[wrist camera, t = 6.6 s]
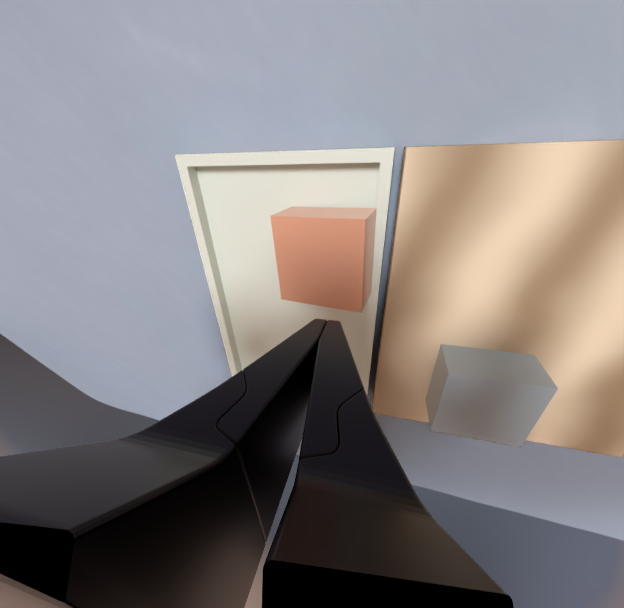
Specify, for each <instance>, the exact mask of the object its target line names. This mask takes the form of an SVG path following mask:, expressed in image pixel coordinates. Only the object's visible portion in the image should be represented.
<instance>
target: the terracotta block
mask: <svg viewBox="0 0 624 608" xmlns="http://www.w3.org/2000/svg"><path fill="white" fill-rule="evenodd" d="M376 212H377V208H343V207H298V206H292V207H289V208H287V209H285V210H283V211H280V212H278V213H276V214H273V215H271V216H270V217H271V225H272V232H273V240H274V247H275V255H276V263H277V270H278V278H279V285H280V293H281V299H282V300H288V301H294V302H300V303H306V304H312V305H318V306H324V307H330V308H336V309H342V310H347V311H353V312H359V313H362V311H363V309H364V306H365V304H366V302H367V300H368V298H369V296H370V294H371V289H372V274H373V258H374V243H375V227H376Z"/></svg>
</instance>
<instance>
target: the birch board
mask: <svg viewBox="0 0 624 608" xmlns="http://www.w3.org/2000/svg"><path fill="white" fill-rule="evenodd" d="M441 344H445V345H454V346H462V347H471V348H479V349H488V350H496V351H505V352H513V353H522V354H530V355H535V356H536V357H537V359H538V360H539V362H540V363H541V365H542V366H543V368H544V369H545V370H546V372H547V373H548V375H549V376H550V378H551V379H552V380H553V382H554V383H555V385H556V386H557V388H558V390H557V391H556V393H555V394H554V396H553V398H552V399H551V401H550V402H549V404H548V405H547V407H546V409H545V410H544V412H543V413H542V415H541V416H540V418H539V420H538V421H537V423H536V424H535V426H534V427H533V429H532V431H531V432H530V434H529V435H528V437H527V438H526V440H527V441H532V442H538V443H544V444H549V445H555V446H560V447H566V448H572V449H577V450H583V451H588V452H594V453H599V454H605V455H611V456H616V457H622V456H623V455H624V140H596V141H566V142H536V143H506V144H476V145H446V146H416V147H404V153H403V161H402V169H401V177H400V185H399V193H398V201H397V209H396V217H395V225H394V233H393V241H392V249H391V256H390V264H389V272H388V280H387V288H386V296H385V304H384V312H383V320H382V328H381V336H380V344H379V352H378V360H377V368H376V375H375V383H374V391H373V408H372V409H373V412H374V413H376V414H382V415H387V416H393V417H398V418H404V419H409V420H415V421H421V422H426V423H429V419H428V412H427V406H426V395H427V392H428V388H429V385H430V381H431V377H432V374H433V370H434V367H435V363H436V359H437V356H438V352H439V349H440V345H441Z"/></svg>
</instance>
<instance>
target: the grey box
mask: <svg viewBox="0 0 624 608" xmlns="http://www.w3.org/2000/svg"><path fill="white" fill-rule="evenodd" d="M557 390H558V388H557V386H556V385H555V383H554V382H553V380H552V379H551V378H550V376H549V375H548V373H547V372H546V370H545V369H544V368H543V366H542V365H541V363H540V362H539V360H538V359H537V357H536V356H535V355H530V354H522V353H513V352H505V351H496V350H488V349H479V348H471V347H462V346H454V345H445V344H441V345H440V349H439V352H438V356H437V359H436V363H435V367H434V370H433V374H432V377H431V381H430V385H429V388H428V392H427V395H426V406H427V412H428V419H429V425H430V431H434V432H440V433H445V434H451V435H456V436H462V437H467V438H472V439H478V440H483V441H489V442H494V443H499V444H505V445H510V446H516V447H521V446H522V445H523V443H524V441H525V440H526V438H527V437H528V435H529V434H530V432H531V431H532V429H533V427H534V426H535V424H536V423H537V421H538V420H539V418H540V416H541V415H542V413H543V412H544V410H545V409H546V407H547V405H548V404H549V402H550V401H551V399H552V398H553V396H554V394H555V393H556V391H557Z"/></svg>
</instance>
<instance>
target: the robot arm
mask: <svg viewBox="0 0 624 608" xmlns="http://www.w3.org/2000/svg"><path fill="white" fill-rule="evenodd" d="M302 435H303V438H302ZM301 438H302V444H301V450H300V456H299V463H298V468H297V473H296V478H295V483H294V486H293V489H292V492H291V495H290V497H289V500H288V503H287V505H286V508H285V511H284V513H283V516H282V519H281V521H280V524H279V527H278V529H277V532H276V534H275V537H274V540H273V542H272V545H271V548H270V550H269V553H268V556H267V558H266V561H265V564H264V567H263V587H262V608H513V602H512V599H511V597H510V596H509V595H508V594H507V593H506V592H505V591H504V590H503V589H502V588H501V587H500V586H499V585H498V584H497V583H496V582H495V581H494V580H493V579H492V578H491V577H490V576H489V575H488V574H487V573H486V572H485V571H484V570H483V569H482V568H481V567H480V566H479V565H478V564H477V563H476V562H475V561H474V559H473V558H472V557H470V555H469V554H468V553H466V551H465V550H464V549H463V548H462V547H461V546H460V545H459V544H458V543H457V542H456V541H455V540H454V539H453V538H452V537H451V536H450V535H449V534H448V533H447V532H446V531H445V530H444V529H443V528H442V527H441V526H440V525H439V524H438V523H437V522H436V520H435V519H434V518H432V516H431V515H430V513H429V512H428V511H427V509H426V508H425V507H424V505H423V504H422V502H421V501H420V499H419V498H418V496H417V494H416V493H415V491H414V489H413V487H412V485H411V484H410V482H409V480H408V478H407V476H406V474H405V472H404V470H403V469H402V467H401V465H400V463H399V461H398V459H397V457H396V456H395V454H394V452H393V450H392V448H391V446H390V444H389V442H388V441H387V439H386V437H385V435H384V433H383V431H382V429H381V427H380V425H379V423H378V421H377V419H376V417H375V414H374V412H373V409H372V407H371V404H370V402H369V399H368V396H367V394H366V391H365V389H364V386H363V383H362V380H361V377H360V375H359V372H358V369H357V366H356V364H355V361H354V358H353V355H352V352H351V350H350V347H349V344H348V341H347V339H346V336H345V333H344V330H343V327H342V325H341V322H340V321H335V320H328V321H327V320H325V319H314V320H312V321H311V322H309V323H308V324H307V325H305V326H304V327H302V328H301V329H300V330H298V331H297V332H295V333H294V334H292V335H291V336H290V337H288V338H287V339H285V340H284V341H282V342H281V343H280V344H278V345H277V346H275V347H274V348H273V349H271V350H270V351H268V352H267V353H265V354H264V355H263V356H261V357H260V358H258V359H257V360H255V361H254V362H253V363H251V364H250V365H248V366H247V367H246V368H244V369H243V371H242V370H241V371H240V372H238V373H237V374H235V375H234V376H233V377H231V378H230V379H228V380H227V381H225V382H224V383H222V384H221V385H219V386H218V387H216V388H215V389H213V390H211V391H210V392H208V393H206V394H205V395H203V396H201V397H200V398H198V399H196V400H195V401H193V402H191V403H190V404H188V405H186V406H184V407H183V408H181V409H179V410H177V411H176V412H174V413H172V414H171V415H169V416H167V417H165V418H164V419H162V420H160V421H159V422H157V423H155V424H153V425H152V426H150V427H148V428H146V429H144V430H142V431H140V432H138V433H135V434H133V435H130V436H127V437H124V438H119V439H115V440H110V441H103V442H96V443H90V444H83V445H76V446H69V447H62V448H56V449H49V450H42V451H35V452H29V453H22V454H15V455H8V456H1V457H0V608H244V606H245V603H246V601H247V598H248V595H249V592H250V589H251V586H252V583H253V580H254V577H255V574H256V571H257V568H258V565H259V562H260V559H261V556H262V554H263V551H264V548H265V542H266V541H267V538H268V536H269V532H270V530H271V526H272V524H273V521H274V518H275V515H276V512H277V509H278V506H279V503H280V500H281V497H282V494H283V491H284V488H285V485H286V482H287V479H288V477H289V473H290V471H291V468H292V465H293V462H294V459H295V456H296V453H297V450H298V447H299V444H300V441H301Z"/></svg>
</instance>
